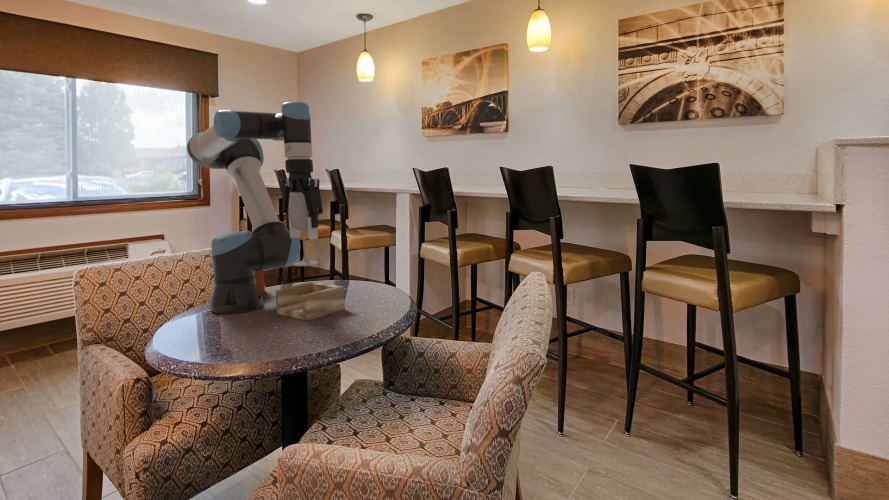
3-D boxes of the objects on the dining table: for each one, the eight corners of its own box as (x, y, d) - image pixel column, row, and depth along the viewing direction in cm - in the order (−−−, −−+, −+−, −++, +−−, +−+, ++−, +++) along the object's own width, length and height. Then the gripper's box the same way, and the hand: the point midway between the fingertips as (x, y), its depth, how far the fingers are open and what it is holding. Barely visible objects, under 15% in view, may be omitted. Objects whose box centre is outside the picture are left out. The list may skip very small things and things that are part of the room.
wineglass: (287, 266, 144) (281, 192, 141) (300, 261, 151) (295, 191, 148) (311, 266, 143) (306, 192, 139) (323, 261, 150) (318, 191, 147)
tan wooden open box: (276, 313, 148) (275, 290, 147) (313, 303, 160) (312, 281, 159) (308, 320, 140) (306, 296, 139) (344, 309, 152) (343, 286, 151)
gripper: (265, 159, 145) (271, 237, 149) (312, 157, 134) (317, 242, 137) (286, 160, 151) (291, 235, 155) (333, 157, 140) (338, 238, 143)
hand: (303, 238), depth 146 cm, fingers closed on wineglass, 8 cm apart
